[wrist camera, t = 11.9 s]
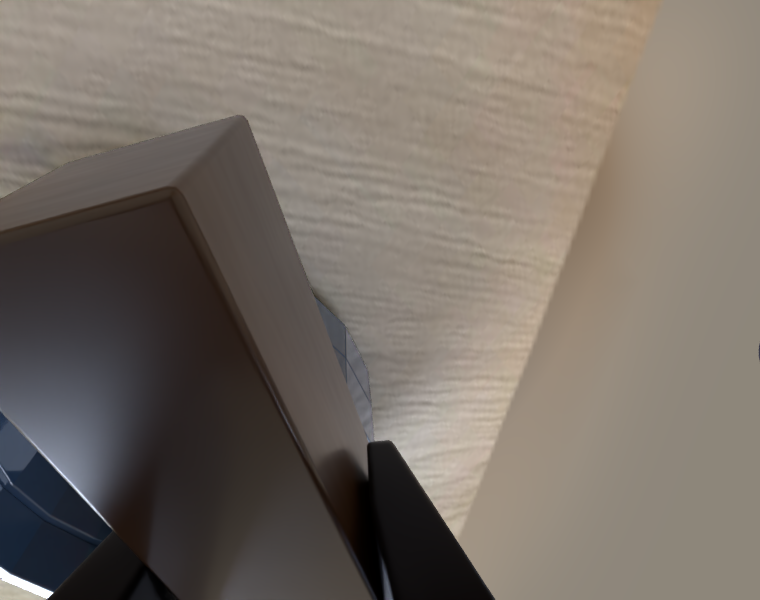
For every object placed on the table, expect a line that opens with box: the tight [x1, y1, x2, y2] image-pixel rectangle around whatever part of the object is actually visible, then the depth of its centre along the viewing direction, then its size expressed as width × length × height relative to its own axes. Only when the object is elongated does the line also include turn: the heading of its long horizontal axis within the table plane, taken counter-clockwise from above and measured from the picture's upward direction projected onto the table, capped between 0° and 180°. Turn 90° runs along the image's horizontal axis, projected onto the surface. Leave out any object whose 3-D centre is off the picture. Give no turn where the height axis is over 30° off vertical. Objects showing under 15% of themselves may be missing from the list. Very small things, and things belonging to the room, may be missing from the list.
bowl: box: [0, 296, 375, 598], centre depth 18 cm, size 15×15×5 cm
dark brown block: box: [0, 115, 383, 600], centre depth 7 cm, size 2×9×3 cm, turn 14°
